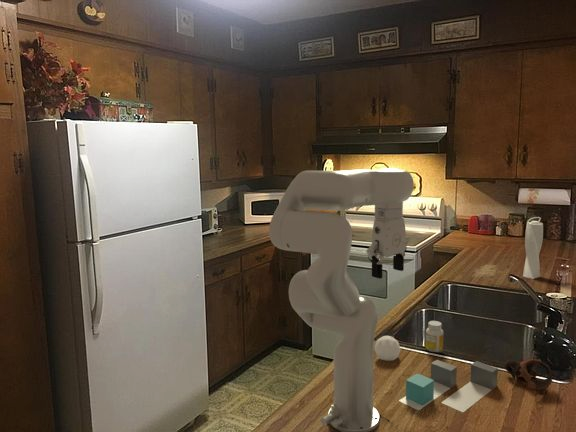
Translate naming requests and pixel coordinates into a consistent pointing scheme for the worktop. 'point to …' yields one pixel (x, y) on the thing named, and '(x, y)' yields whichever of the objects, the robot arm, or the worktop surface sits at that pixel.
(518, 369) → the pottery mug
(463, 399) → the empty strip
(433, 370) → the strip with cube
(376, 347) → the ball
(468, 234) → the worktop surface
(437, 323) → the supplement bottle
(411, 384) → the cube
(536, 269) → the skyscraper
